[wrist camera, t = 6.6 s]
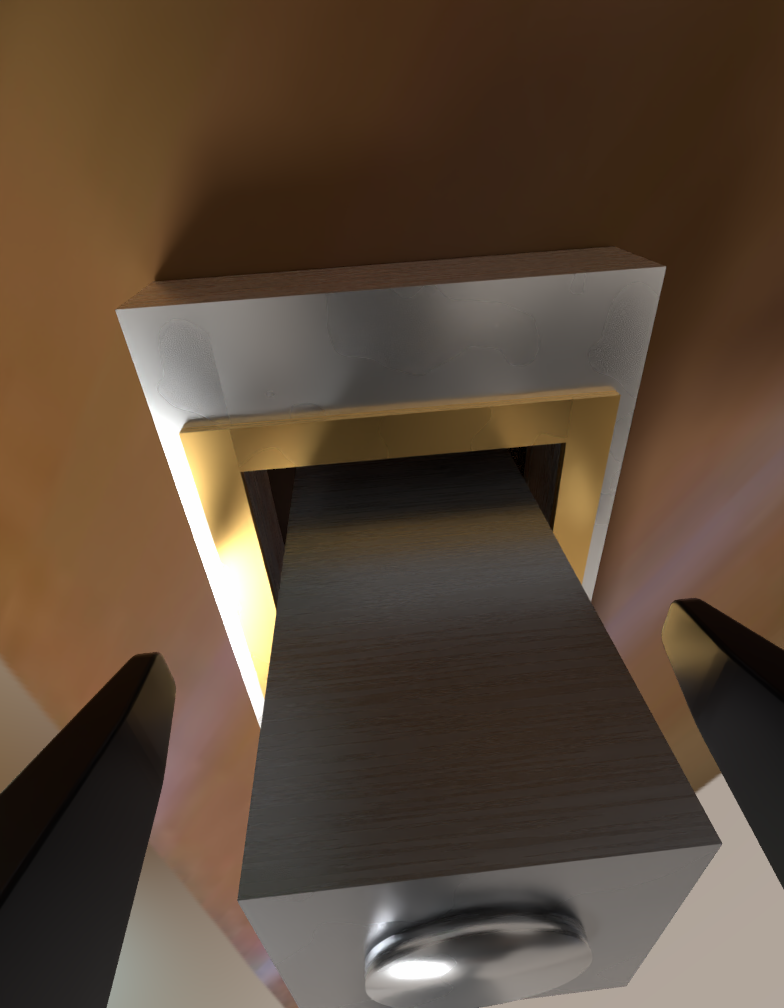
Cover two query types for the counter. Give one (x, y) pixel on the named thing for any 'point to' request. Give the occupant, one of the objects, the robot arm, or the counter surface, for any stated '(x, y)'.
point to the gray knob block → (453, 754)
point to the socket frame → (389, 393)
